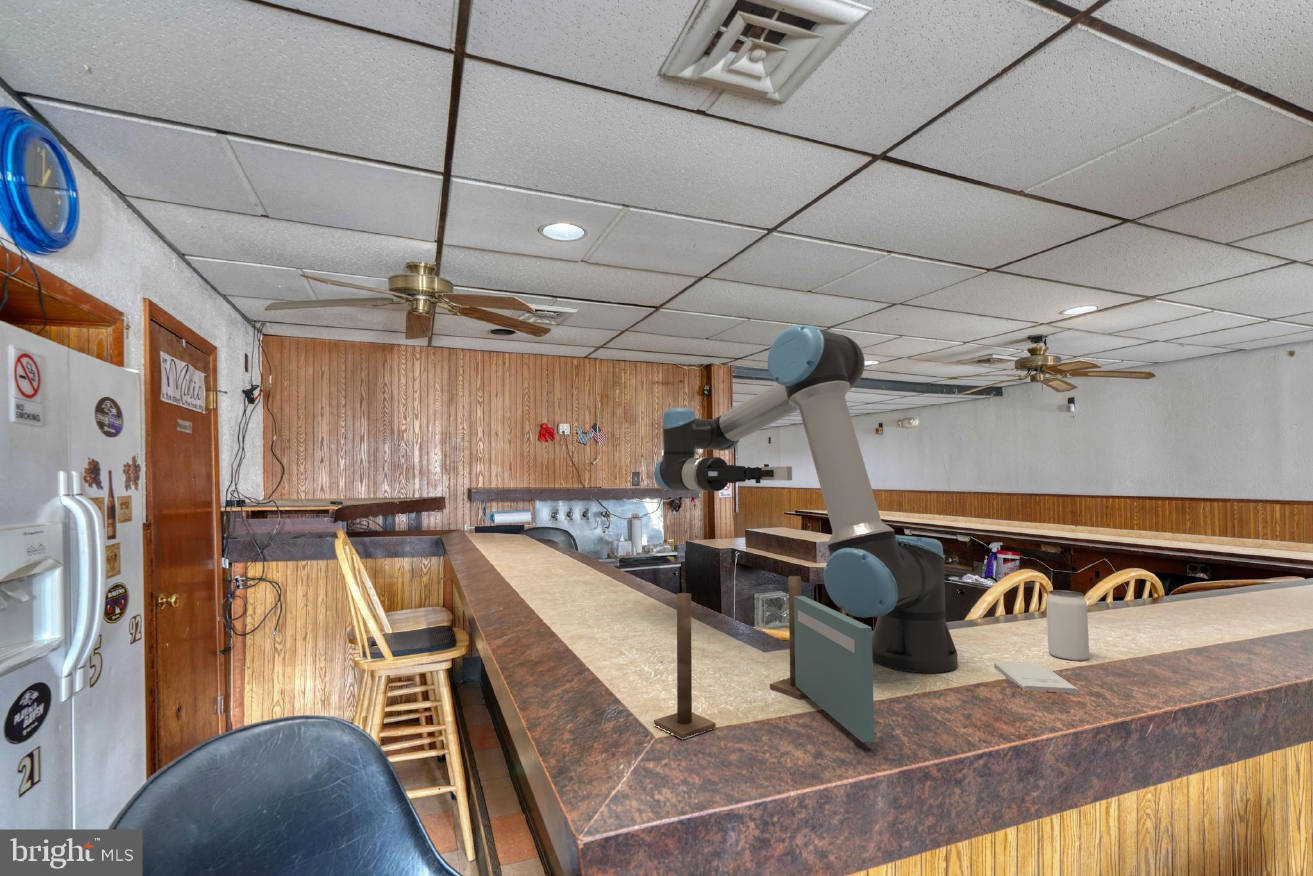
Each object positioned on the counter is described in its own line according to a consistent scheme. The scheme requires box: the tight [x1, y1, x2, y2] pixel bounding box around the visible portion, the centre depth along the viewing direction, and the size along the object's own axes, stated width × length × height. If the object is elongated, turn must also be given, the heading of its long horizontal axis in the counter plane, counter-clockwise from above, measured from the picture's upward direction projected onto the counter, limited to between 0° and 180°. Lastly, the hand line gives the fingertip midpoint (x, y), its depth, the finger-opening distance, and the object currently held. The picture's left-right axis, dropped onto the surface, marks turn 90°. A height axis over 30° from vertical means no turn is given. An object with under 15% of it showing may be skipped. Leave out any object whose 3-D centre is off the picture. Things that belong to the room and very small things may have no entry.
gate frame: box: [653, 575, 809, 738], centre depth 91 cm, size 30×6×18 cm, turn 128°
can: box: [1045, 589, 1090, 662], centre depth 116 cm, size 6×6×12 cm
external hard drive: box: [993, 661, 1080, 695], centre depth 102 cm, size 2×8×12 cm
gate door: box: [794, 595, 875, 743], centre depth 87 cm, size 21×2×14 cm, turn 10°
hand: (789, 473), depth 118 cm, fingers closed
